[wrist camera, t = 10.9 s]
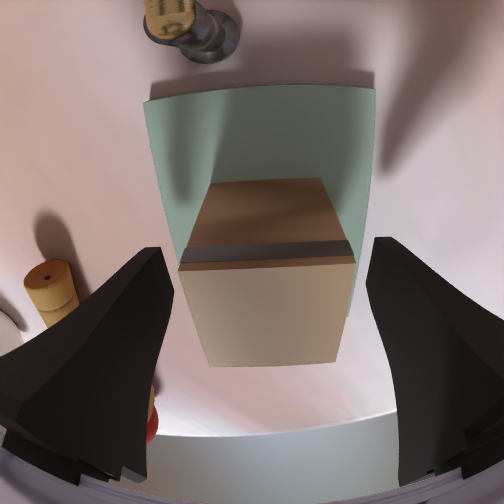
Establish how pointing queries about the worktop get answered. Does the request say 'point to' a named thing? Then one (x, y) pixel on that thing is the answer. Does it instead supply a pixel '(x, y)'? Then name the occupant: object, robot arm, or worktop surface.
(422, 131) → the worktop surface
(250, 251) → the walnut block
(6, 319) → the white knot sculpture
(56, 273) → the kendama
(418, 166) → the worktop surface
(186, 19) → the brass corner rail
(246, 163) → the mat
